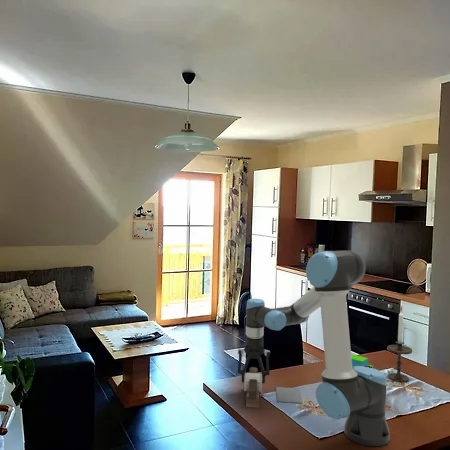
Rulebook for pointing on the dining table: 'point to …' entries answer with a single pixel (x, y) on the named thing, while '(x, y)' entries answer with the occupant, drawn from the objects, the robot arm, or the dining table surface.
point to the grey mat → (288, 395)
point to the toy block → (359, 361)
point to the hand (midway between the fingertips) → (252, 390)
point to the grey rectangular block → (253, 376)
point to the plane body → (252, 391)
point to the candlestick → (399, 353)
